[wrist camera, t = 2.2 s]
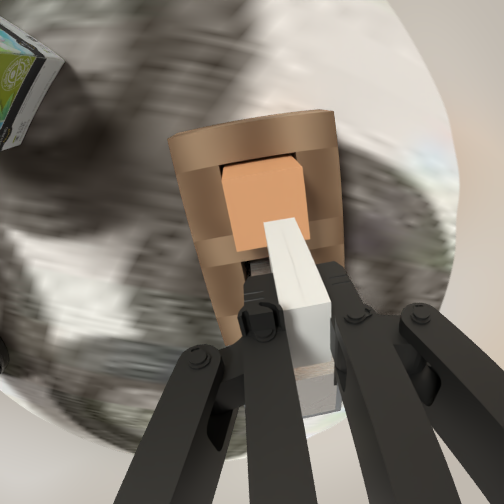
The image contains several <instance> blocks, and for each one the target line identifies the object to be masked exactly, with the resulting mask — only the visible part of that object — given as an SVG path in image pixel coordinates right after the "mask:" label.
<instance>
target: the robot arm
mask: <svg viewBox="0 0 504 504" xmlns="http://www.w3.org/2000/svg"><path fill="white" fill-rule="evenodd" d="M263 223H264V229H265V235H266V241H267V247H268V253H269V260H270V266H271V272H272V273H268V274H262V275H256V276H250V277H248V278H247V280H246V281H245V283H244V285H243V290H244V306H243V307H242V308H241V309H240V311H239V312H238V316H237V319H238V323H239V326H240V330H241V334H242V337H241V338H240V339H239V340H238V341H237V342H235V343H234V344H232V345H230V346H228V347H226V348H223V349H221V350H218V349H216V348H215V347H213V346H211V345H206V344H204V345H196V346H193V347H191V348H189V349H187V350H186V351H185V352H183V354H182V355H181V356H180V358H179V359H178V361H177V364H176V366H175V368H174V370H173V372H172V374H171V376H170V379H169V381H168V383H167V385H166V387H165V389H164V391H163V394H162V396H161V398H160V400H159V402H158V404H157V407H156V409H155V411H154V413H153V415H152V418H151V420H150V422H149V424H148V426H147V428H146V431H145V433H144V435H143V437H142V440H141V442H140V444H139V446H138V448H137V451H136V453H135V455H134V457H133V460H132V462H131V464H130V467H129V469H128V471H127V473H126V476H125V478H124V480H123V483H122V485H121V487H120V489H119V491H118V494H117V496H116V498H115V501H114V503H113V504H212V501H213V498H214V495H215V491H216V488H217V484H218V481H219V478H220V474H221V471H222V467H223V464H224V460H225V456H226V453H227V449H228V446H229V442H230V439H231V435H232V431H233V428H234V424H235V420H236V417H237V413H238V409H239V407H240V406H242V405H245V415H246V437H247V459H248V479H249V498H250V504H318V503H317V498H316V491H315V485H314V480H313V474H312V469H311V462H310V457H309V451H308V446H307V440H306V434H305V428H304V423H303V417H302V412H301V407H300V401H299V396H298V391H297V385H296V380H295V375H294V369H293V368H299V367H304V366H310V365H315V364H320V363H325V362H330V361H331V353H332V356H333V360H334V386H335V385H337V384H338V387H339V390H340V394H341V397H342V401H343V404H344V408H345V411H346V415H347V418H348V422H349V425H350V429H351V433H352V436H353V440H354V444H355V447H356V451H357V455H358V459H359V463H360V467H361V470H362V475H363V478H364V482H365V487H366V491H367V495H368V499H369V504H461V501H460V498H459V495H458V492H457V490H456V487H455V484H454V481H453V478H452V476H451V473H450V470H449V468H448V465H447V462H446V460H445V457H444V455H443V452H442V450H441V447H440V445H439V442H438V440H437V438H436V435H435V433H434V431H433V428H434V430H435V431H436V432H437V434H438V435H439V436H440V437H441V438H442V440H443V441H444V443H445V444H446V445H447V446H448V448H449V449H450V450H451V452H452V453H453V454H454V456H455V457H456V458H457V459H458V461H459V462H460V463H461V465H462V466H463V467H464V469H465V470H466V471H467V473H468V474H469V475H470V477H471V478H472V479H473V480H474V482H475V483H476V485H477V486H478V487H479V489H480V490H481V491H482V493H483V494H484V496H485V497H486V498H487V500H488V501H489V502H490V504H504V371H503V370H502V369H501V368H500V367H499V366H498V365H497V364H496V363H495V362H494V361H493V360H492V359H491V358H490V357H489V356H488V355H487V354H486V353H485V352H483V351H482V350H481V349H480V348H479V347H478V346H477V345H476V344H474V342H473V341H472V340H470V339H469V338H468V337H467V336H466V335H465V334H464V333H463V332H462V331H460V330H459V329H458V328H457V327H456V326H455V325H454V324H452V323H451V322H450V321H449V320H448V319H447V318H446V317H444V316H443V315H442V314H441V313H440V312H439V311H438V310H436V309H435V308H434V307H432V306H430V305H428V304H424V303H413V304H410V305H408V306H406V307H405V308H404V309H403V311H402V313H401V316H390V315H380V314H376V312H375V311H374V310H373V309H372V307H370V306H368V305H366V304H363V302H362V300H361V298H360V297H359V295H358V293H357V291H356V289H355V287H354V285H353V284H352V282H351V280H350V278H349V276H347V273H346V271H345V269H344V268H343V266H341V265H340V264H338V263H337V262H335V261H331V262H326V263H320V264H315V263H314V260H313V258H312V256H311V253H310V251H309V249H308V247H307V244H306V242H305V240H304V238H303V235H302V233H301V231H300V229H299V226H298V224H297V222H296V220H295V218H294V217H293V218H287V219H281V220H275V221H269V222H263ZM8 362H9V356H8V352H7V349H6V347H5V345H4V343H3V341H2V340H1V338H0V374H1V373H2V372H3V371H4V369H5V368H6V366H7V364H8ZM432 427H433V428H432Z"/></svg>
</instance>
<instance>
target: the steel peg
mask: <svg viewBox="0 0 504 504" xmlns="http://www.w3.org/2000/svg"><path fill="white" fill-rule="evenodd" d="M250 267H251V276H256V275H262V274H268V273H272V272H271V266H270V260H269V257H266V258H260V259H255V260H250ZM293 369H294V375H295V380H296V385H297V391H298V396H299V401H300V407H301V412H302V416H307V415H312V414H317V413H322V412H327V411H331V410H335V405H336V392H337V385H335V386H334V360H333V356H332V353H331V361H330V362H325V363H320V364H315V365H310V366H304V367H299V368H293Z"/></svg>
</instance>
